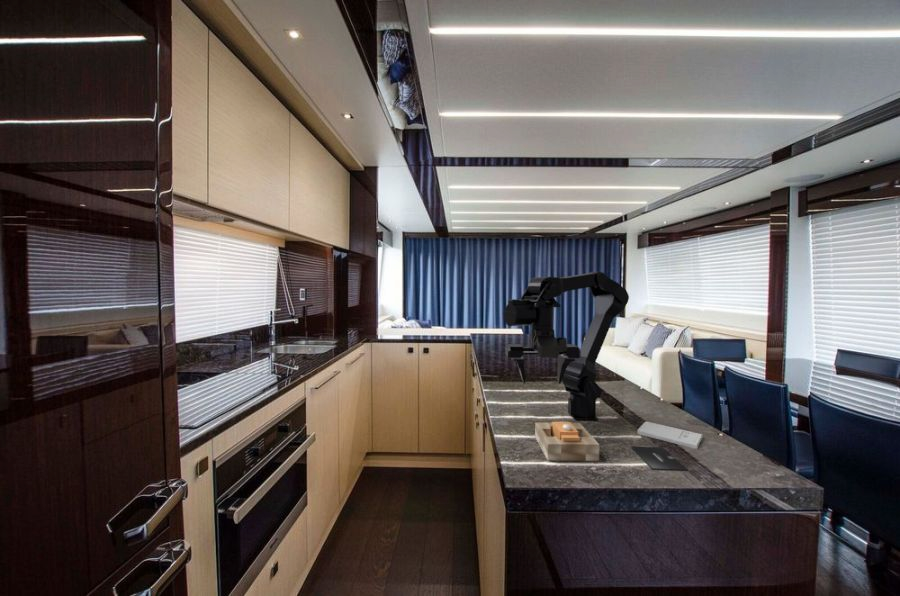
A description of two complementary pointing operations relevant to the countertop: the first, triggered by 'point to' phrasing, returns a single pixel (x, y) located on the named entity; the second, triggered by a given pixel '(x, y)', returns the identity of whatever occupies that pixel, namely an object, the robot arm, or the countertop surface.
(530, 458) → the countertop surface
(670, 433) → the external hard drive
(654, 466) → the solid state drive
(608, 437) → the countertop surface
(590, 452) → the beige notched square frame
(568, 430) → the block
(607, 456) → the countertop surface
